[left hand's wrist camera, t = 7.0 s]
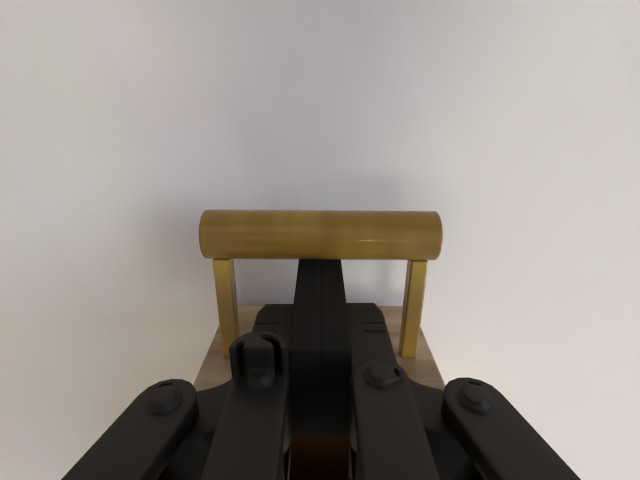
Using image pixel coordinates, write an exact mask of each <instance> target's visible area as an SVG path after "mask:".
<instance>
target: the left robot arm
mask: <svg viewBox="0 0 640 480" xmlns="http://www.w3.org/2000/svg"><path fill="white" fill-rule="evenodd" d="M229 355H230V364H231V373H232V378H231V380H229V381H228V382H226V383H224V384H222V385H219V386H216V387H213V388H209V389H205V390H201V391H197V392H196V389H195V387H194V386H193V385H192V384H191V383H190V382H187V381H185V380H182V379H170V380H166V381H161V382H158V383H156V384H154V385H152V386H150V387H148V388H147V389H146V390H145V391H143V392H142V393H141V394H140V395H139V396H138V397H137V398H136V399H135V400H134V401H133V402H132V403H131V404H130V405H129V407H128V408H127V409H126V410H125V411H124V412H123V413H122V414H121V415H120V416H119V417H118V418H117V420H116V421H115V422H114V423H113V424H112V425H111V426H110V427H109V428H108V429H107V430H106V432H105V433H104V434H103V435H102V436H101V437H100V438H99V439H98V440H97V441H96V442H95V444H94V445H93V446H92V447H91V448H90V449H89V450H88V451H87V452H86V453H85V454H84V456H83V457H82V458H81V459H80V460H79V461H78V462H77V463H76V464H75V465H74V466H73V468H72V469H71V470H70V471H69V472H68V473H67V474H66V475H65V476H64V477H63V478H62V479H61V480H289V473H290V460H291V449H290V438H291V437H350V449H349V474H348V478H351V480H581V479H580V478H579V477H578V476H577V475H576V474H575V473H574V472H573V471H572V470H571V469H570V467H569V466H568V465H567V464H566V463H565V462H564V461H563V460H562V459H561V458H560V457H559V456H558V454H557V453H556V452H555V451H554V450H553V449H552V448H551V447H550V446H549V445H548V444H547V443H546V441H545V440H544V439H543V438H542V437H541V436H540V435H539V434H538V433H537V432H536V431H535V430H534V428H533V427H532V426H531V425H530V424H529V423H528V422H527V421H526V420H525V419H524V418H523V417H522V415H521V414H520V413H519V412H518V411H517V410H516V409H515V408H514V407H513V406H512V405H511V404H510V402H509V401H508V400H507V399H506V398H505V397H504V396H503V395H502V394H501V393H500V392H499V391H498V390H496V389H495V388H494V387H493V386H491V385H489V384H487V383H485V382H483V381H481V380H477V379H472V378H457V379H454V380H452V381H449V382H448V384H447V385H446V386H445V387H444V390H441V389H437V388H433V387H429V386H425V385H422V384H419V383H417V382H415V381H413V380H411V379H410V378H409V377H408V375H407V373H406V372H405V370H404V369H403V368H402V367H401V366H399V365H398V364H397V360H396V357H395V353H394V350H393V346H392V343H391V339H390V336H389V332H388V329H387V325H386V322H385V318H384V315H383V312H382V311H381V310H380V309H379V308H378V307H377V306H376V305H375V304H374V303H346V298H345V290H344V282H343V274H342V266H341V259H299V265H298V273H297V281H296V289H295V297H294V304H266V305H265V306H264V307H263V308H262V309H261V310H260V311H259V312H258V313H257V316H256V319H255V323H254V326H253V330H252V332H250V333H247V334H244V335H242V336H240V337H238V338H237V339H236V340H234V341H233V342H232V344H231V345H230V347H229Z"/></svg>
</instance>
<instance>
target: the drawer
mask: <svg viewBox="0 0 640 480" xmlns="http://www.w3.org/2000/svg"><path fill="white" fill-rule="evenodd" d="M442 239H443V231H442V223H441V219H440V216H439V214H438V213H437V212H435V211H312V210H205V211H204V212H203V214H202V217H201V220H200V226H199V243H200V248H201V252H202V254H203V256H204V257H205V258H207V259H213V267H214V276H215V285H216V294H217V304H218V313H219V322H220V325H219V327H218V330H217V332H216V334H215V336H214V339H213V341H212V343H211V346H210V348H209V350H208V353H207V355H206V357H205V360H204V362H203V364H202V367H201V369H200V371H199V374H198V376H197V378H196V381H195V383H194V385H193V386H194V387H195V389H196V392H197V391H201V390H205V389H209V388H213V387H216V386H219V385H222V384H224V383H226V382H228V381H229V380H231V378H232V373H231V364H230V355H229V347H230V345H231V344H232V342H233V341H234V340H236V339H237V338H238V337H240V336H242V335H244V334H247V333H250V332H252V330H253V326H254V323H255V319H256V316H257V313H258V312H259V311H260V310H261V309H262V308H263V307H264V306H251V305H237V295H236V284H235V272H234V261H233V259H348V260H408V263H407V272H406V282H405V292H404V301H403V306H377V307H378V308H379V309H380V310H381V311H382V312H383V315H384V318H385V322H386V325H387V329H388V332H389V336H390V339H391V343H392V346H393V350H394V353H395V357H396V360H397V364H398V365H399V366H401V367H402V368H403V369H404V370H405V372H406V373H407V375H408V377H409V378H410V379H411V380H413V381H415V382H417V383H419V384H422V385H425V386H429V387H433V388H437V389H441V390H444V387H445V384H444V381H443V379H442V377H441V374H440V372H439V370H438V367H437V365H436V362H435V360H434V358H433V355H432V353H431V351H430V348H429V346H428V344H427V341H426V339H425V337H424V334H423V332H422V330H421V327H420V323H421V315H422V307H423V299H424V291H425V283H426V275H427V267H428V261H427V260H436V259H437V258H438V257H439V254H440V251H441V247H442ZM290 449H291V460H290V473H289V480H351V478H348V474H349V449H350V437H291V438H290Z"/></svg>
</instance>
